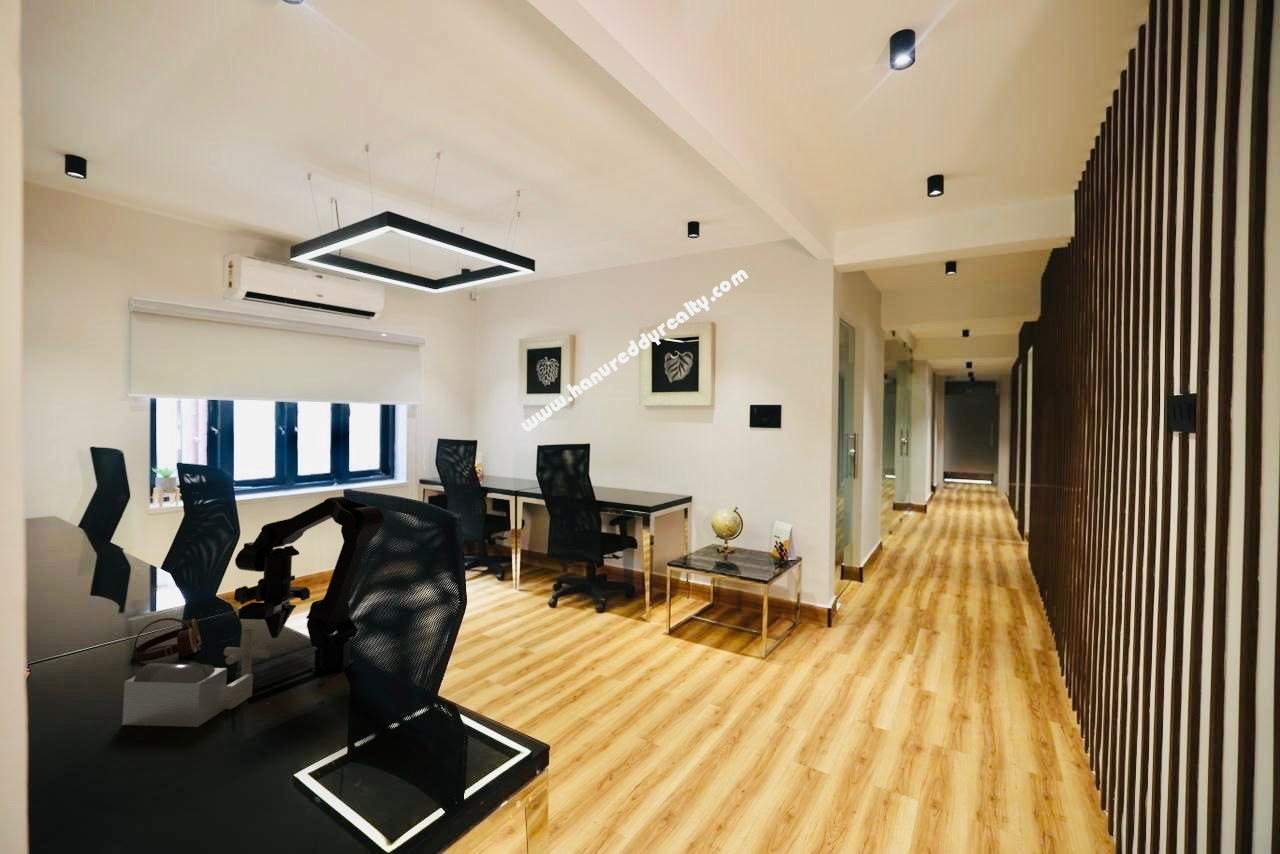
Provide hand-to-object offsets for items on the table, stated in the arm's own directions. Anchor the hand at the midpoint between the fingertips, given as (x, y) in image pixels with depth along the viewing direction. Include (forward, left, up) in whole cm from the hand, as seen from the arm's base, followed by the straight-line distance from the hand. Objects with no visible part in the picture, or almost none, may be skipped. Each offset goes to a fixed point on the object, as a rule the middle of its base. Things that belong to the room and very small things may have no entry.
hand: (274, 637), depth 138 cm
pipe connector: (0, +10, -5) cm, 11 cm away
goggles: (+28, -2, -5) cm, 28 cm away
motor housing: (0, +26, -5) cm, 27 cm away
